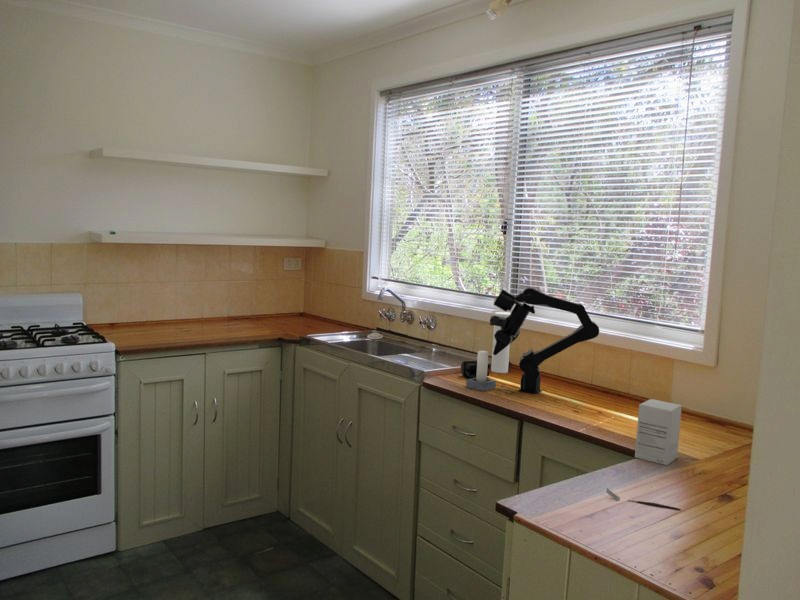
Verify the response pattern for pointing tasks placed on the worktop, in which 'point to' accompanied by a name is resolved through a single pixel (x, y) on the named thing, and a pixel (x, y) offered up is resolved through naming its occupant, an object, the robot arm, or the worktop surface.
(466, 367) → the end cap
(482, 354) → the white tapered peg
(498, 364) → the cylindrical container
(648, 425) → the supplement box
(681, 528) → the worktop surface
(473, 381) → the square frame
